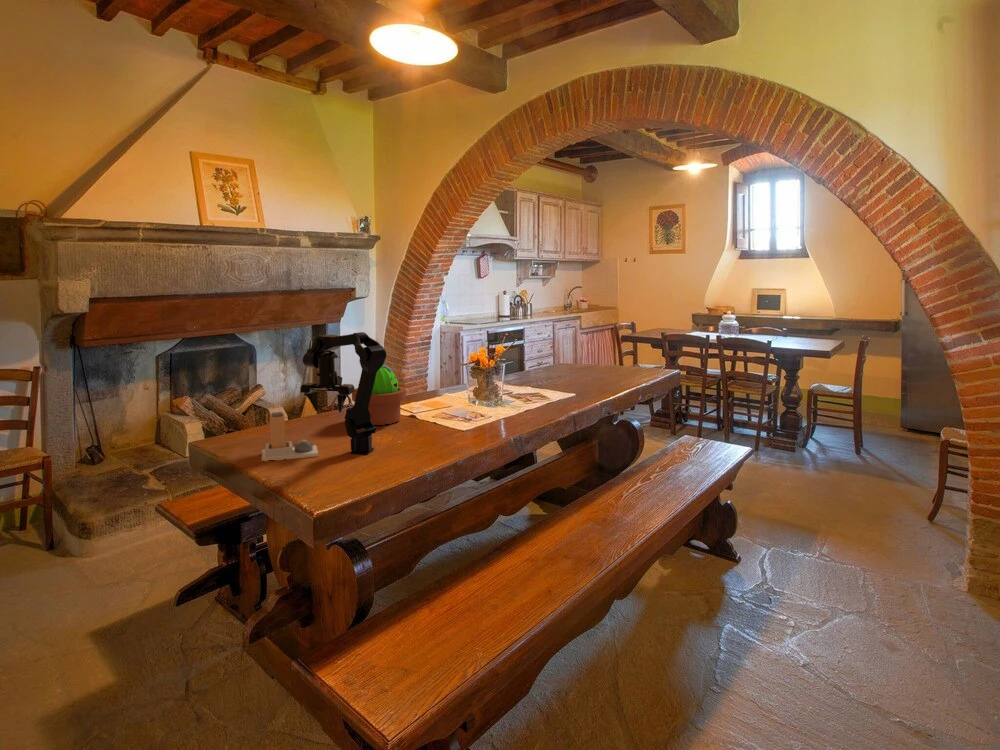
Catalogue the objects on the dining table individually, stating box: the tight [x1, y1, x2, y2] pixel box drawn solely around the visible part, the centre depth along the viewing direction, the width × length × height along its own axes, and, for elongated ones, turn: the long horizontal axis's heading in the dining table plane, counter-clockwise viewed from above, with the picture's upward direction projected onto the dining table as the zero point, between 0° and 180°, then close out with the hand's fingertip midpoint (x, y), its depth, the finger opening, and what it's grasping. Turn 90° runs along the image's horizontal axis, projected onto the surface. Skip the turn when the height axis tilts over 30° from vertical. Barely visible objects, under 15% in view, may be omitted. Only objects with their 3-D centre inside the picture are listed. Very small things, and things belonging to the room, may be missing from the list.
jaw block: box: [269, 411, 287, 449], centre depth 199 cm, size 4×4×14 cm
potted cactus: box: [351, 363, 407, 426], centre depth 247 cm, size 22×22×25 cm
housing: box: [261, 439, 319, 462], centre depth 201 cm, size 18×10×5 cm, turn 110°
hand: (328, 411), depth 214 cm, fingers open, 9 cm apart
